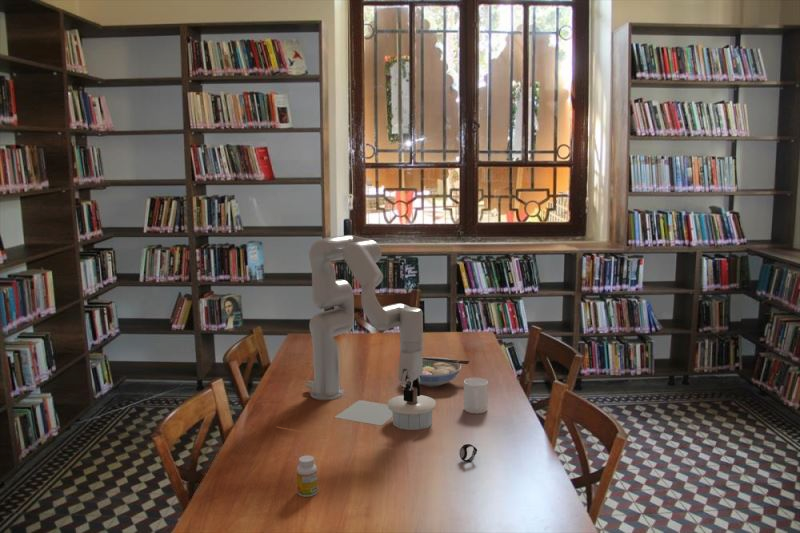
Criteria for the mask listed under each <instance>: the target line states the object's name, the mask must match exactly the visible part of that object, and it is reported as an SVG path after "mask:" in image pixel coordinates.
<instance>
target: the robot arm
mask: <svg viewBox="0 0 800 533" xmlns="http://www.w3.org/2000/svg"><path fill="white" fill-rule="evenodd" d="M308 257H309V258H308V259H309V264H310V267H311V286H312V288H311V289H312V302H313V304H314V306H315V307H316V308H318V309H320V310H323V309H324V310H325V309H326V310H325V311H322V312H319V313H317V314H314V315H313V316H312V317H311V318H310V320H309V325H308V326H309V331H310V332H309V333H310V335H311V341H312V356H313V380H307V382H306V384H305V385H306V386H305V387H306V388H310V389H311V390H310V392H309V394H310V395H309V396H310V397H311V398H312V399H314V400H319V401H332V400H336V399H340V398H342V397H343V396H344V395H345V390H344V389H343V388H341V378H340V377H341V376H340V374H341V373H340V372H341V371H340V369H341V368H340V349H339V344H338V342H337V341H336V340H335V337H336V336H339V335H342V334H345V333H348V332H350V331H351V330H352V329H353V327H354V325H355V298H354V291H353V288H352V286H351V284H350V283H349V282H348V281H347V280H346V279H341V278H340V279H337V278H336V268H335V267H334V264H332V262H335V261H342V260H344V261H345V263H346V264H347V266H348V268H349V270H350V271H351V272H352V274H353V276H354V278H355V279H356V281H357V282H358V284H359V286H360V288H361V294H360V301H361V307H362V310H363V312H364V314H365V316H366V317H367V319H368V321H369V322H370V324H371V325H372V326H373V327H374V328H375V329H377V330H379V331H386V330H390V329H393V328H397V327H399V350H400V354H399V361H398V380H399V381H400V386H402V390H403V395H404V401H408V402H413V390H412V387H416V388H417V396H420V395H421V384H420V383H421V381H420V378H421V375H422V373H423V358H424V357H423V351H424V331H423V330H424V318H423V317H424V316H423V315H424V312H423V310H422V309H421V308H419V307H416V306H415V307H413V306H412V307H411V306H410V305H408V304H404V303H401V302H399V303H393V304H388V305H384V306H382V305H381V304H380V302H379V301H378V299H377V296H376V288H377V287H379V285H380V284H381V283H382V281H383V279H384V274H383V272H382V270H381V269H380V268H379V266H378V265H377V263H378V262H379V261H380V260H381V258H382V248H381V246H380V245H379V244H378V242H377V241H375V240H373V239H370V238H366V237H361V236H358V235H353V234H347V235H339V236H338V235H337V236H330V237H329V236H327V237H323V238H321V239H318V240H316V241H314V242H313V243H312V244H311V246H310V249H309V253H308ZM331 308H334V309H331ZM327 309H329V310H327ZM330 309H331V310H330ZM408 383H409V384H408Z"/></svg>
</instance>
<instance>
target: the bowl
mask: <svg viewBox="0 0 800 533" xmlns="http://www.w3.org/2000/svg"><path fill="white" fill-rule="evenodd" d="M391 419H392V420H391V421H392V425H393V426H394V427H396V428H398V429H401V430H405V431H406V430H407V431H416V430H423V429H424V430H426V429H428V428H430V427H431V426H432V425H433V410H432V411H431V412H428V413H424V414H418V415H405V414H399V413H395V412H393V411H392V418H391Z"/></svg>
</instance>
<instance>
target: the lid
mask: <svg viewBox="0 0 800 533" xmlns="http://www.w3.org/2000/svg"><path fill="white" fill-rule="evenodd" d="M412 390H413V402H408V401H404V394H402V395H397V396H394V397H392V398H390V399H389V400H388V402H387V405H388V408H389V409H390V410H391V411H393V412H395V413H399V414H405V415H418V414H424V413H428V412H431V411H432V412H433V411H434V410H435V409H436V407H437V402H436V400H435V399H434V398H432V397H430V396H426V395H422V394H420V396H417V388H416V387H412Z"/></svg>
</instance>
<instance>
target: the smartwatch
mask: <svg viewBox="0 0 800 533" xmlns="http://www.w3.org/2000/svg"><path fill="white" fill-rule="evenodd" d="M470 447H472V448H473V450H472V453H471V456H470V457H469V458H468V459H467V456H468V448H470ZM477 453H478V449H477V448H476V447H475V446H473V445H472V444H470V443H468V444H466V443H465V444H463V445H462V446H461V448H460V449H459V456H460V460H462V461H463V462H465V463H471V462H472V461H473V460H474V459H475V456H476V455H477Z"/></svg>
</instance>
